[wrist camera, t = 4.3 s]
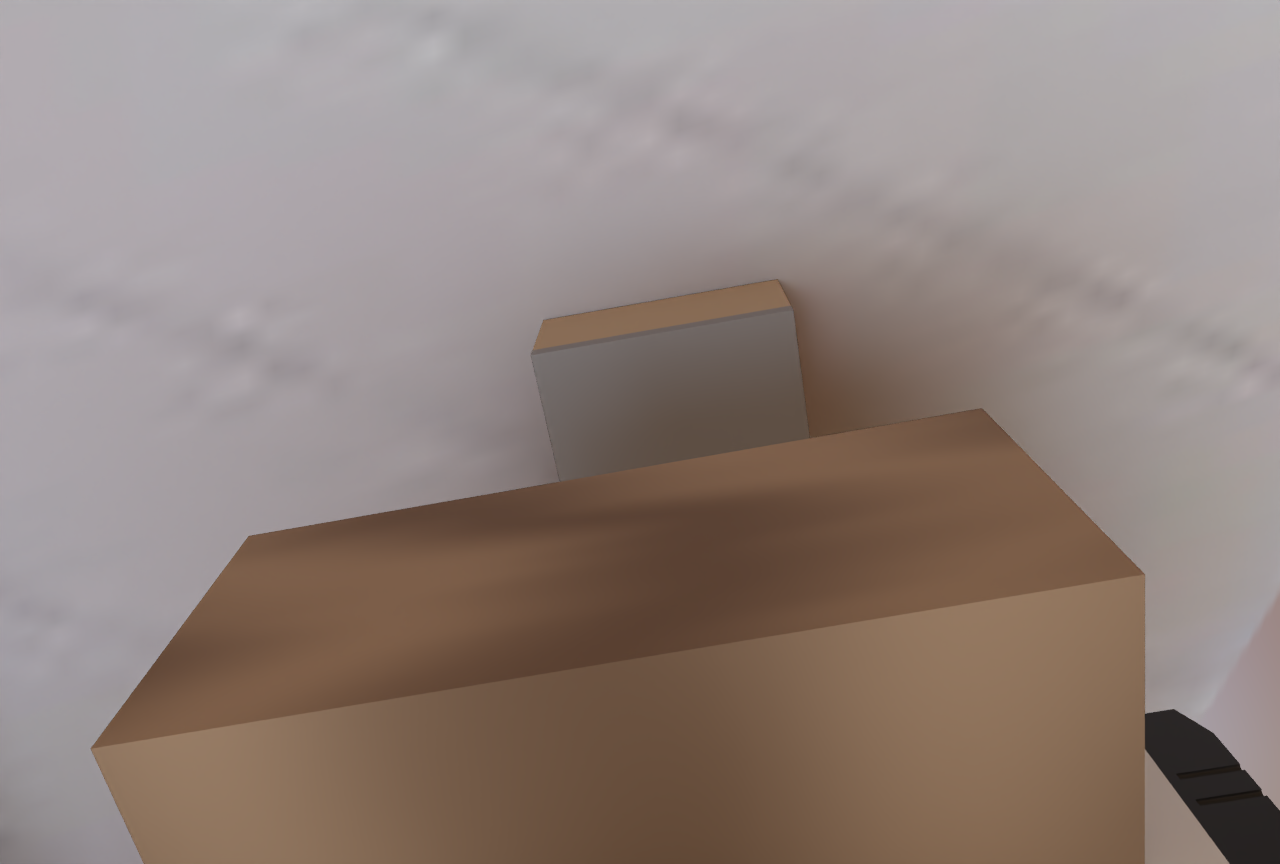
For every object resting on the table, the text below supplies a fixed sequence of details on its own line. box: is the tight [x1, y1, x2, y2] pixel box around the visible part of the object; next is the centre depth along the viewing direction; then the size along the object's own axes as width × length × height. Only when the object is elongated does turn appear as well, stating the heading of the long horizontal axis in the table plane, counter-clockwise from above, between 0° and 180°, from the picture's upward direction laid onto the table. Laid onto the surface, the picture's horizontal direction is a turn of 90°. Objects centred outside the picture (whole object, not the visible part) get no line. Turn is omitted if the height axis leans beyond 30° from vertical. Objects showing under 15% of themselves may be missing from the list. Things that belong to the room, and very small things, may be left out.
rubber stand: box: [531, 280, 810, 482], centre depth 25 cm, size 6×6×3 cm
